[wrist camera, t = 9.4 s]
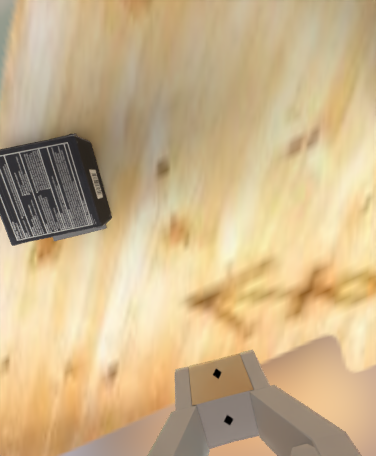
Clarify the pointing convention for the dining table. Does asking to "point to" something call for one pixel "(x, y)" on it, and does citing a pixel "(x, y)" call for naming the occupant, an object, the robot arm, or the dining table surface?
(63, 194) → the small box
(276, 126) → the dining table surface
